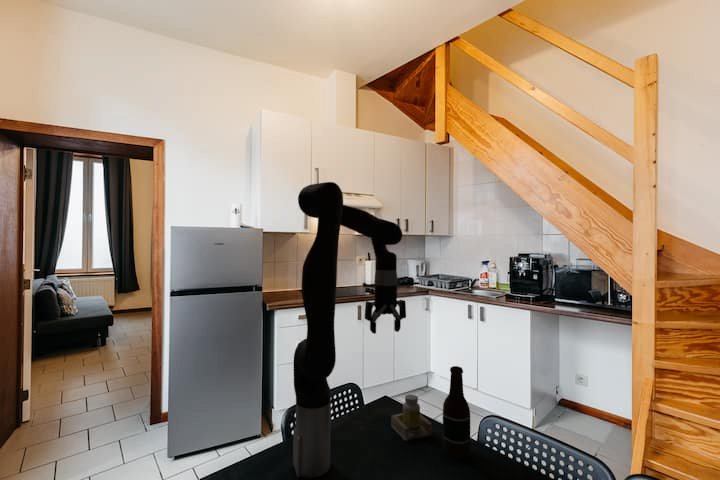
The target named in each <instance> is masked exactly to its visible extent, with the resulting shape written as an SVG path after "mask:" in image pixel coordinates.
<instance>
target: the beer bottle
mask: <svg viewBox="0 0 720 480" xmlns="http://www.w3.org/2000/svg"><path fill="white" fill-rule="evenodd" d="M449 371H450V381H449V383H450V384H449V392H448V395H446V398H445V399H444V401H443V404H442V405H443V406H442V448H443V452H444V455H446V456H447V457H449V458H451V459H453V460H465V459H466V458H468V457H470V454H471V409H470V406H469V403H468V401H467V399H466V398H465V395H464V381H463V374H464V370H463V368H462V367H461V366H458V365H453V366H451V367H450V369H449Z"/></svg>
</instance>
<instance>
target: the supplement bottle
mask: <svg viewBox="0 0 720 480" xmlns="http://www.w3.org/2000/svg"><path fill="white" fill-rule="evenodd" d="M418 398H419V397H418V396H417V395H415V394H407V395H405V396H404V402H403V404H402V413H403V423H404V424H405V425H406V426H407V427H408V428H409V432H416V431H418V430H419V429H420V414H421V406H420V404H419V403H418V402H419V399H418Z"/></svg>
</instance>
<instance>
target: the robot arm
mask: <svg viewBox="0 0 720 480" xmlns="http://www.w3.org/2000/svg"><path fill="white" fill-rule="evenodd" d="M297 197H298V198H297V202H298V207H299V209H300V210H301V212H302V213H303V214H304V215H306V216H307V217H310V218H314V219H317V229H316V235H315V238H314V241H313V243H312V245H311V247H310V249H309V250H308V252H307V255H306V256H305V259H304V261H303V265H302V269H301V270H302V271H301V272H302V273H301V298H302V303H303V309H304V312H305V313H304V314H305V317H306V325H307V326H306V328H307V329H306V338H305V339H303V340H301V341H300V342H299V343H298V344H297V346H296V347H295V350H294V354H293V387H294V389H293V390H294V394H295V427H294V428H293V439H292V444H293V446H292V447H293V449H292V451H293V455H292V466H293V467H294V470H295V474H296V476H297V478H301V477H302V478H303V477H304V478H310V479H311V478H317V477H321V476H323V475H324V474H327V472H328V471H329V470H330V467H331V424H332V423H331V421H332V420H331V419H332V418H331V417H332V413H331V411H332V406H331V405H332V392H331V391H332V390H331V388H330V386H329V383H328V379H327V378H328V377H330V375H331V374H332V373H333V371H334V369H335V366H336V358H337V357H336V355H337V354H336V339H335V338H336V337H335V315H336V295H337V294H336V293H337V280H338V278H337V277H338V254H339V253H338V252H339V243H340V242H339V240H340V231H341V226H342V227H345V228H347V229H349V230H352V231H354V232H356V233H358V234H359V235H362V236H364V237H366V238H368V239H369V238H370V239H371V244H372V247H373V248H372V249H373V252H374V255H375V274H374V301H366V302H365V305H364V306H365V308H364V319H365V320H366V321H369V331H370V332H371V333H372V334H373V335H375V334H376V333H377V322H376V321H377V320H378V319H379V318H380V317H381V315H392V316H393V318H394V322H393V323H394V327H393V329H394V330H393V331H395V332H396V333H399V332H400V330H401V325H402V323H401V321H402V320H403V319H406V318H407V309H406V308H407V307H406V305H407V304H406V301H405V300H404V299H399V300H398V299H397V298H398V273H397V270H398V269H397V262H398V261H397V260H398V258H397V255H396V253H395V252H393V251H389V250H388V248H387V246H394V245H398V244H399V243H400V242H401V241H402V240H403V239H402V238H403V230H402V229H401V227H400V226H399V224H397V223H395V222H393V221H390V220H386V219H382V218H379V217H377V216H375V215H374V214H372V213H370V212H368V211H366V210H363V209H360V208H357V207H354V206H349V205H345V204H344V196H343V191H342V189H341V187H340V186H339V185H338V184H337V183H336V182H334V181H328V182H327V181H326V182H320V183H313V184H309V185H307V186H304V187H303V188H302V189H301V190H300V191H299V192H298V196H297ZM373 307H374V308H375V309H374V310H373V312H372V309H373ZM397 307H398V309H399V310H397Z"/></svg>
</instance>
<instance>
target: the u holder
mask: <svg viewBox="0 0 720 480" xmlns="http://www.w3.org/2000/svg"><path fill="white" fill-rule="evenodd" d="M390 417H391V420H390V421H391V422H390V424H391V425H390V426H391V428H392V429H393V430H395V431H396V433H397V434H398V435H399V436H400V438H402V439H403V440H404V441H405V442H407V441H412V440H416V439H419V438H424V437H425V438H426V437H429V436H433V423H432V422H431V421H430V420H429V419H427V418H426V417H424V416H423V415H422V414H421V413H420V429H419V430H418V431H416V432H409V428H408V427H407V426H406V425H405V424H404V423H403V412H401V413H396V414H391V415H390Z"/></svg>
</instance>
